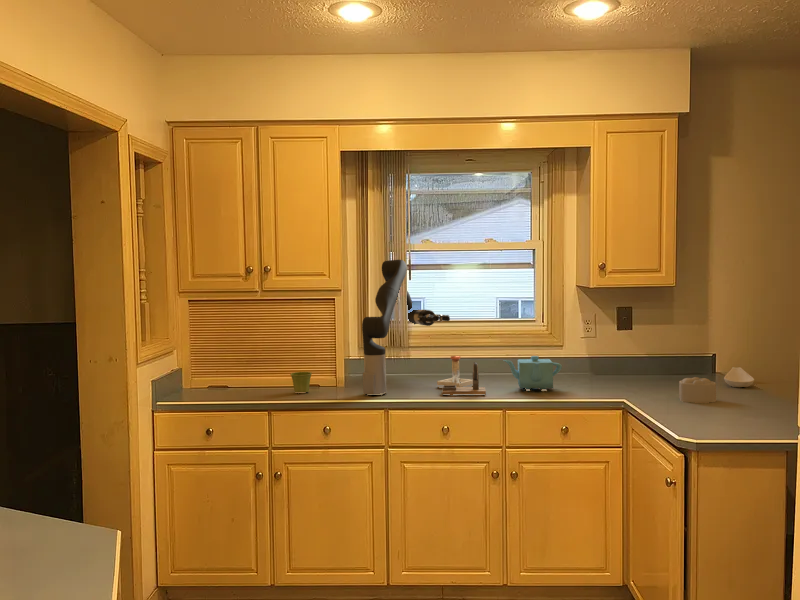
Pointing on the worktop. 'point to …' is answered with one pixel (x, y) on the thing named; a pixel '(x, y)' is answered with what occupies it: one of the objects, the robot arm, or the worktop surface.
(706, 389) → the beige bumpy block
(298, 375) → the plant pot
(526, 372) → the teakettle
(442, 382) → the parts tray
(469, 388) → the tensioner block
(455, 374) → the capped test tube
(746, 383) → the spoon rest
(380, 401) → the worktop surface
